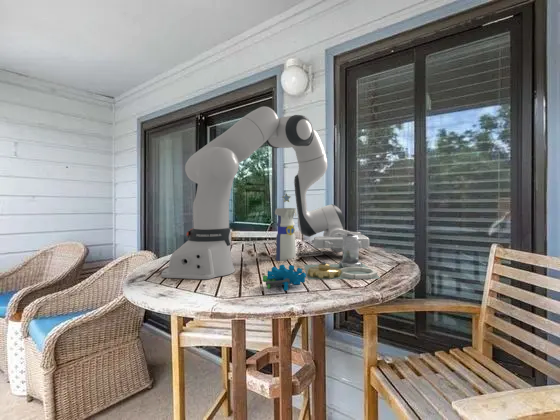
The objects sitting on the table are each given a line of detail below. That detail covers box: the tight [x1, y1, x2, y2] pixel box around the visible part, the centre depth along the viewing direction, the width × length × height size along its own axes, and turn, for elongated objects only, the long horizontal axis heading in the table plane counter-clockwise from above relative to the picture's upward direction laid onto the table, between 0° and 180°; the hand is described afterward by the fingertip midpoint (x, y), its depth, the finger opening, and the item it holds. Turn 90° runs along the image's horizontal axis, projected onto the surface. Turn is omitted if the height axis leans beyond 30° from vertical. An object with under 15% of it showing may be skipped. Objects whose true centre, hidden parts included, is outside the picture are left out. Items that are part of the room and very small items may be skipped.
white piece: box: [274, 193, 298, 262], centre depth 124 cm, size 8×9×25 cm
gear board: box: [303, 263, 382, 280], centre depth 100 cm, size 20×19×1 cm
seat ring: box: [341, 267, 378, 280], centre depth 96 cm, size 10×10×1 cm
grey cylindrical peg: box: [338, 233, 363, 268], centre depth 105 cm, size 7×7×11 cm
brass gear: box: [306, 261, 341, 280], centre depth 96 cm, size 10×10×4 cm
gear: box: [262, 264, 307, 291], centre depth 83 cm, size 11×6×10 cm
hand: (344, 245), depth 115 cm, fingers open, 8 cm apart
